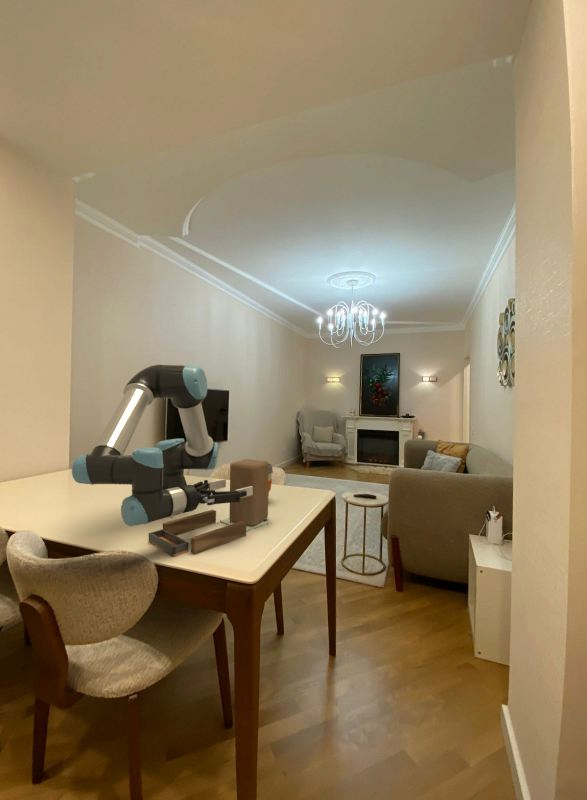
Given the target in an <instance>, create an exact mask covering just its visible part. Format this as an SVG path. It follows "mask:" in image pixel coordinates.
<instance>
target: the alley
mask: <svg viewBox="0 0 587 800" xmlns="http://www.w3.org/2000/svg"><path fill="white" fill-rule="evenodd" d="M216 523H217V510H215V509H210V510H205V511H202V512H198V513H196V514H191V515H188V516H184V517H180V518H176V519H174V520H169V521H165V522H163V523H162V529H164V530H166V531H168V532H170V533H172V534H174V535H176V536H177V535H180V534H184V533H188V532H190V531H193V530H197V529H199V528H204V527H206V526H210V525H213V524H216ZM246 536H247V532H246V522H244V521H240V522H237V523H234V524H231V525H225V526H223V527H219V528H216V529H213V530H209V531H208V532H203V533H201V534H198V535H194V536H192V537H191V538H190V552H191V553H192V554H194V555H198V554H199V553H203V552H205V551H208V550H211V549H213V548H216V547H219V546H221V545H224V544H227V543H229V542H232V541H235V540H237V539H240V538H244V537H246Z"/></svg>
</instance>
